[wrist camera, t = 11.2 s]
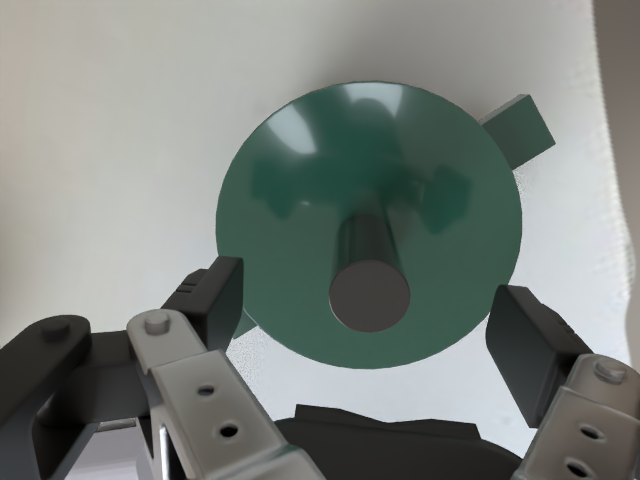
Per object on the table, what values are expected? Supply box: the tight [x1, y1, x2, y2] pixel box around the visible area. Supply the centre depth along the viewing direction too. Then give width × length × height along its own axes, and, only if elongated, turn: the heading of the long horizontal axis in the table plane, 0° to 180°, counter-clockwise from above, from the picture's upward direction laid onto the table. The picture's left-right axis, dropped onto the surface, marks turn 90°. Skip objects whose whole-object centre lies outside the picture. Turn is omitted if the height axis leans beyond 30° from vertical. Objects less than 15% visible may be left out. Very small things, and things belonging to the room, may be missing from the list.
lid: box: [216, 81, 522, 369], centre depth 16 cm, size 13×13×6 cm
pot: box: [232, 94, 555, 339], centre depth 23 cm, size 12×17×8 cm
